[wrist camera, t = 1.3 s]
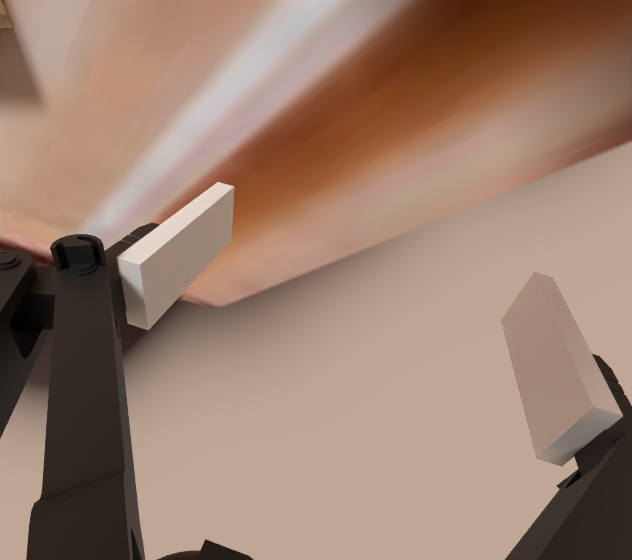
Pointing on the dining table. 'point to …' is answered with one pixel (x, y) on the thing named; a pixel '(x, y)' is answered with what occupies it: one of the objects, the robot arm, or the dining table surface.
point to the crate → (4, 17)
